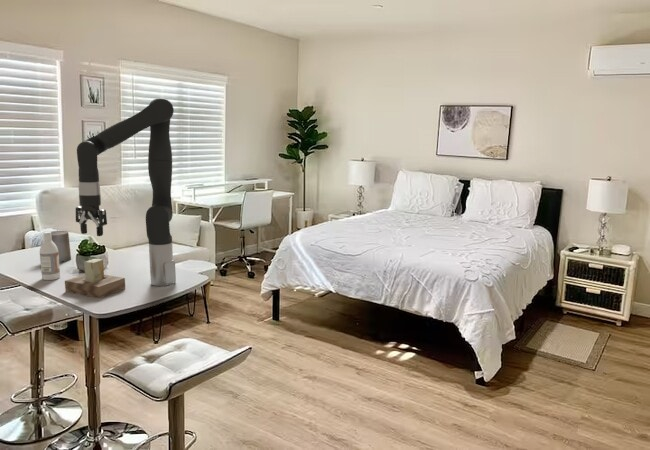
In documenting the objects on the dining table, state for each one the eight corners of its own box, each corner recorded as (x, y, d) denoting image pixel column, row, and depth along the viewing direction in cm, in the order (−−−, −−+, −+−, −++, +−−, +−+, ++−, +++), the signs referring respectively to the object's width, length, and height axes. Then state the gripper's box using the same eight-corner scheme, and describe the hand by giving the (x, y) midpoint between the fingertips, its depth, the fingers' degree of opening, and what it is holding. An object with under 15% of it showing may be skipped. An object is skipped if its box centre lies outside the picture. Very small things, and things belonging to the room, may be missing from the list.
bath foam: (59, 279, 216) (55, 233, 212) (40, 281, 213) (36, 234, 210) (61, 275, 222) (57, 230, 218) (43, 276, 220) (39, 231, 216)
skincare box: (95, 293, 199) (93, 262, 197) (85, 292, 200) (83, 262, 198) (105, 288, 205) (103, 258, 203) (96, 287, 206) (93, 258, 204)
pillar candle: (64, 256, 254) (61, 227, 251) (75, 259, 249) (72, 229, 246) (44, 260, 246) (41, 230, 244) (54, 263, 241) (51, 232, 238)
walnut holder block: (125, 288, 205) (124, 277, 204) (99, 298, 193) (98, 286, 192) (92, 283, 212) (91, 272, 211) (65, 291, 200) (64, 280, 199)
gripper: (111, 193, 196) (112, 235, 199) (84, 191, 202) (87, 231, 205) (94, 195, 190) (97, 238, 193) (68, 192, 195) (70, 234, 198)
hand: (91, 234), depth 199 cm, fingers open, 8 cm apart
